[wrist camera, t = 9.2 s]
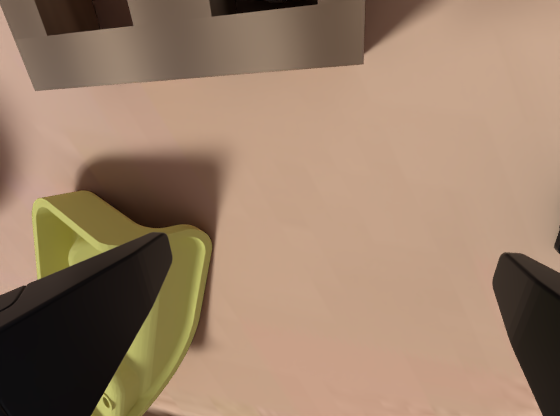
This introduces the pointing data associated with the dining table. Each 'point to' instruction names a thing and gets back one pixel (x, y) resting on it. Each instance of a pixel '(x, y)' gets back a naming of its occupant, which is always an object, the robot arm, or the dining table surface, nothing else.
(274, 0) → the plug
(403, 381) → the dining table surface
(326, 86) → the dining table surface
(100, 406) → the plastic component
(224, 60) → the board
